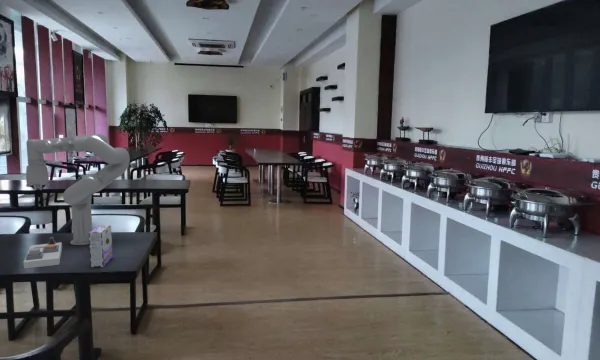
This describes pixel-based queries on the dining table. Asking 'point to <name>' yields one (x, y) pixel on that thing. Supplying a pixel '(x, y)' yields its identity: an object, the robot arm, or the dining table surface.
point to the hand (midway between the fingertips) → (38, 197)
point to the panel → (43, 256)
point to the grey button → (34, 251)
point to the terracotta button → (51, 246)
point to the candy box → (100, 245)
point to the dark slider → (51, 241)
